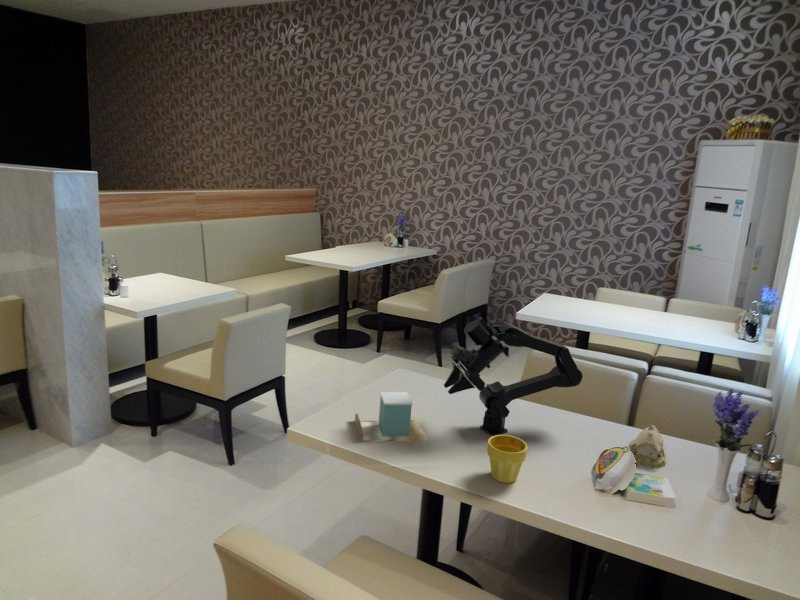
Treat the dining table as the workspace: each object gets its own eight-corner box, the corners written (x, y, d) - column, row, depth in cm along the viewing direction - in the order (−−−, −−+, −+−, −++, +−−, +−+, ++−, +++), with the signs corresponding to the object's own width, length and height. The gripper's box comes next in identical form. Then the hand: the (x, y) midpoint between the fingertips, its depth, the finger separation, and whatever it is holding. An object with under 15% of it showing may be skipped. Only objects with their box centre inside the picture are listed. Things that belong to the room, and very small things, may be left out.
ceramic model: (663, 472, 162) (669, 440, 159) (621, 460, 167) (627, 428, 165) (669, 453, 174) (675, 422, 171) (630, 442, 179) (635, 412, 177)
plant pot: (479, 480, 150) (483, 446, 148) (489, 463, 160) (492, 431, 158) (519, 491, 147) (523, 456, 144) (526, 472, 156) (530, 439, 154)
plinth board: (417, 421, 183) (418, 412, 182) (427, 442, 170) (428, 432, 169) (354, 422, 179) (355, 413, 179) (360, 443, 166) (360, 434, 165)
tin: (404, 423, 179) (407, 392, 177) (409, 436, 171) (412, 403, 169) (377, 424, 178) (380, 392, 175) (382, 436, 170) (384, 403, 167)
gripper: (459, 328, 181) (423, 361, 181) (478, 346, 163) (437, 383, 163) (481, 352, 184) (445, 385, 185) (501, 373, 166) (461, 409, 167)
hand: (446, 389), depth 175 cm, fingers open, 5 cm apart
